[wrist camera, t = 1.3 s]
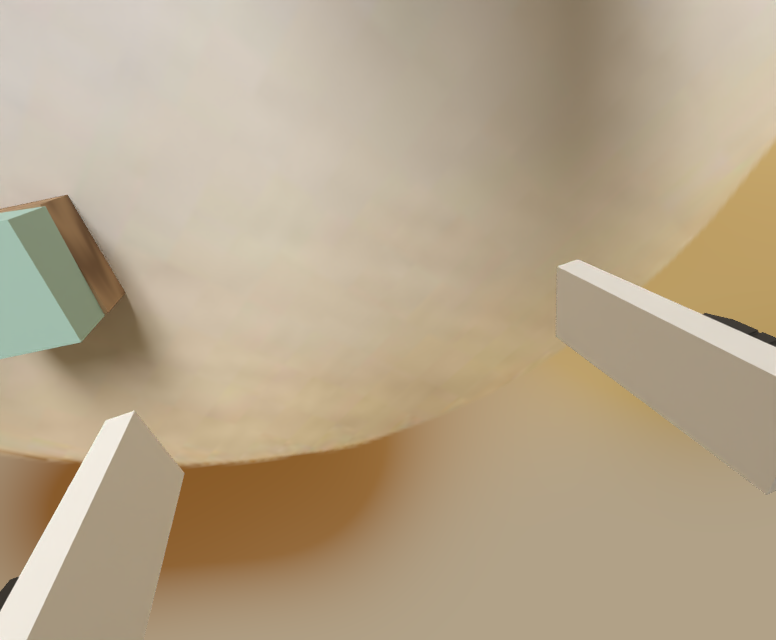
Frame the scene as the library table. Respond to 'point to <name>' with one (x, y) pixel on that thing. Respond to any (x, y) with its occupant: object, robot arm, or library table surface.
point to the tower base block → (81, 249)
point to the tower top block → (40, 287)
